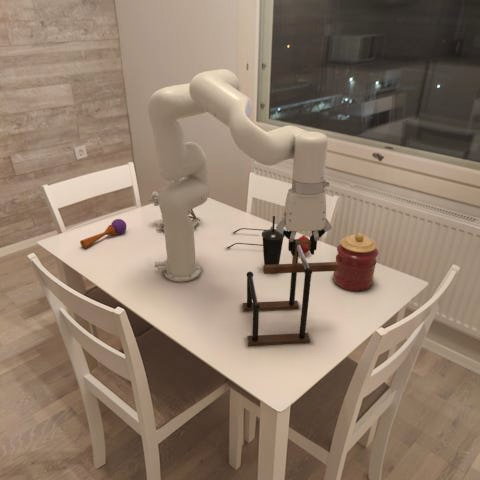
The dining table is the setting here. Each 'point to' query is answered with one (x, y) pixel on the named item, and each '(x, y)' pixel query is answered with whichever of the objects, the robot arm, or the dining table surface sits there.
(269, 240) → the drinking cup
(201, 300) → the dining table surface
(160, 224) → the flower
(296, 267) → the hanger
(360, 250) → the kitchen canister
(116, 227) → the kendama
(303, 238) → the red oval fruit
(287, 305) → the rack
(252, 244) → the glasses
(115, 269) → the dining table surface
